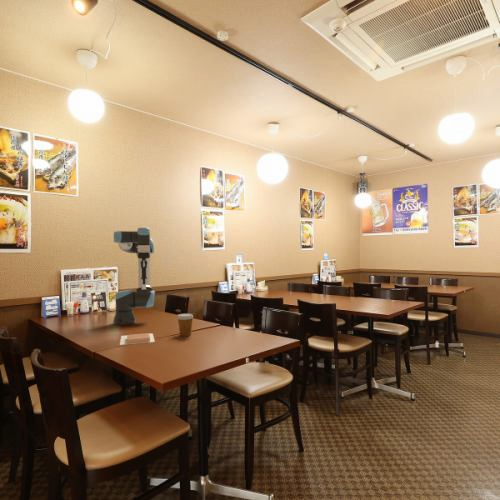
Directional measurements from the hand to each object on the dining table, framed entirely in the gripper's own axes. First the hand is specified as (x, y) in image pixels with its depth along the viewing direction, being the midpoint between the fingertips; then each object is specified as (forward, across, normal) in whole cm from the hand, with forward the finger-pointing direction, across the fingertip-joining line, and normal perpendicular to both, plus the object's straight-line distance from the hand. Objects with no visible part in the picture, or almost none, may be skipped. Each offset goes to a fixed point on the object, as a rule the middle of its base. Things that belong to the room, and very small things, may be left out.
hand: (144, 289), depth 222 cm
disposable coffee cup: (+26, +20, +23) cm, 40 cm away
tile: (+24, +20, -4) cm, 32 cm away
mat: (+26, +23, -4) cm, 35 cm away
